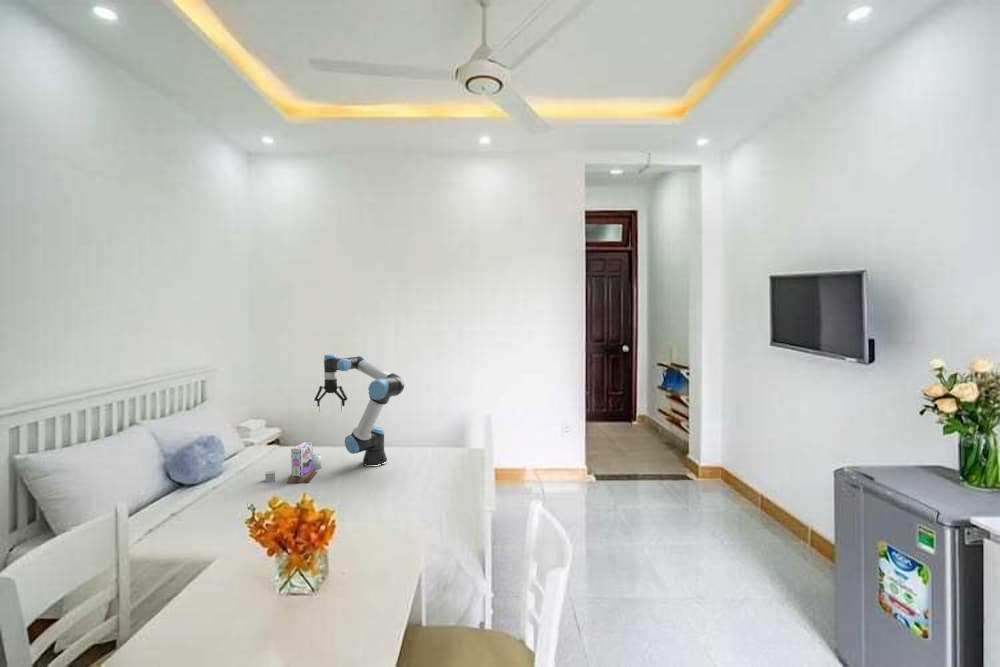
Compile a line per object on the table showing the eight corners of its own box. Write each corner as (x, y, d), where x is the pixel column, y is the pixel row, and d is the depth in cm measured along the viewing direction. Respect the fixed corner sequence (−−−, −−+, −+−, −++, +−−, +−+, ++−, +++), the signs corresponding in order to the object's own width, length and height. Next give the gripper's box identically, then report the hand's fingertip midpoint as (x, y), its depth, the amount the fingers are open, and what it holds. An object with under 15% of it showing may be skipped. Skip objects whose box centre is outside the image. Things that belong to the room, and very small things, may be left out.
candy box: (300, 477, 290) (300, 449, 289) (291, 476, 291) (290, 448, 290) (313, 469, 303) (312, 442, 302) (304, 468, 304) (303, 441, 303)
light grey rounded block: (322, 466, 318) (322, 453, 318) (319, 470, 311) (319, 457, 311) (311, 466, 318) (310, 454, 317) (307, 470, 311) (307, 457, 310)
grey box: (275, 478, 296) (274, 470, 296) (275, 481, 292) (274, 473, 291) (265, 480, 294) (265, 471, 294) (265, 482, 289) (265, 474, 289)
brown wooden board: (316, 472, 306) (316, 467, 306) (308, 482, 289) (308, 477, 289) (296, 473, 305) (296, 468, 305) (286, 483, 288) (286, 478, 288)
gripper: (351, 377, 329) (352, 409, 331) (312, 377, 327) (312, 410, 328) (349, 379, 322) (349, 412, 323) (308, 379, 320) (309, 412, 321)
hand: (331, 411), depth 326 cm, fingers open, 13 cm apart
